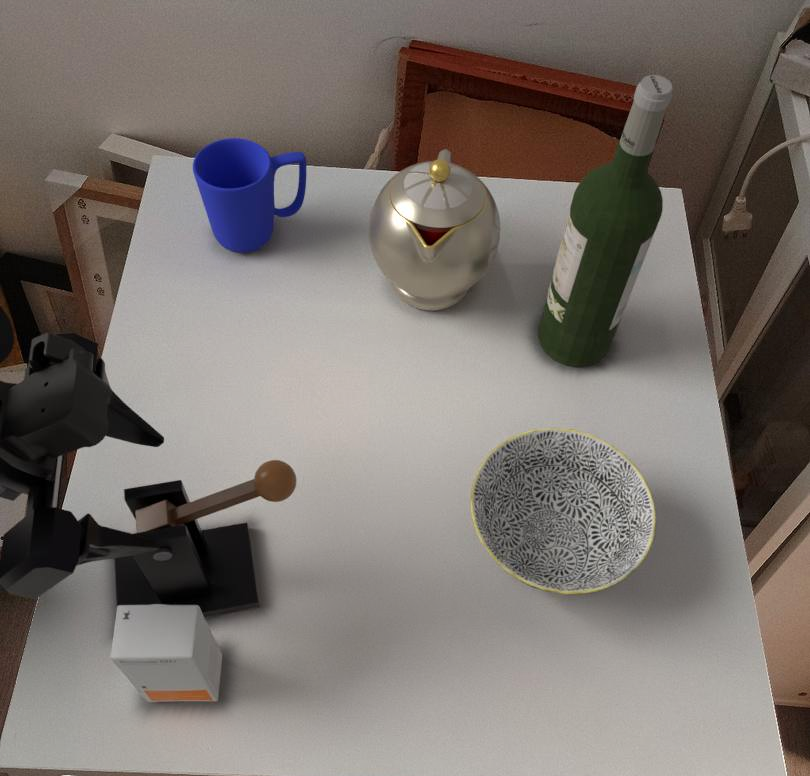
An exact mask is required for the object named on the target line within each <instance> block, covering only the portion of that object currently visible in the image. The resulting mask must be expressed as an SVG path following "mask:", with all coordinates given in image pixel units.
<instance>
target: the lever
mask: <svg viewBox="0 0 810 776" xmlns="http://www.w3.org/2000/svg"><path fill="white" fill-rule="evenodd" d="M296 487H297V476H296V472H295V470H294V469H293V467H291V465H290V464H289V463H287V462H285V461H283V460H279V459H270V460H267V461H265V462H264V463H262V464H261V465H260V466H259V467H258V468H257V469H256V470H255V473H254V477H253V479H250V480H247V481H244V482H241V483H239V484H236V485H234V486H231V487H228V488H225V489H223V490H219V491H217V492H214V493H211V494H209V495H206V496H204V497H200V498H198V499H195V500H192V501H190V502H189V503H187V504H184V505H181V506H179V507H176V506H175V505H173V504H172V503H171V502H169V501H168V500H163V501H160V502H158V503H155V504H152V505H150V506H147V507H144V508H141V509H139V510H136V511H135V515H136V520H135V531H136V533H139V532H145V531H151V530H157V529H163V528H169V527H174V526H180V525H184V523H187V522H190V521H193V520H195V519H197V520H199V519H201V518H204V517H206V516H209V515H212V514H215V513H217V512H220V511H222V510H226V509H229V508H232V507H234V506H237V505H240V504H242V503H245V502H249V501H251V500H254V499H256V498H259V497H261V498H262V499H264V500H265V501H267V502H271V503H279V502H284V501H285V500H287V499H288V498H290V497H291V496H292V495H293V494H294V491H295V490H296Z"/></svg>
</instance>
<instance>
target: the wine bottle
mask: <svg viewBox="0 0 810 776" xmlns="http://www.w3.org/2000/svg"><path fill="white" fill-rule="evenodd" d="M672 98H673V84H672V82H671V81H670V80H669V79H668V78H666V77H664V76H662V75H659V74H658V75H657V74H650V75H646V76H644V77H643V78H642V79H641V80H640V82H639V83H638V84H637V85H636V88H635V91H634V94H633V102H632V105H631V107H630V108H631V109H630V111H629V114H628V116H627V120H626V121H625V124H624V127H623V131H622V133H621V137H620V139H619V141H618V145H617V148H616V150H615V153H614V157H613V159H612V160H611V162H609V163H605V164H603V165H600V166H597V167H595V168H594V169H593V170H591V171H589V172H588V173H587V174H585V176H584V177H582V179H581V180H580V182H579V183H578V185H577V187H576V188H575V190H574V192H573V196H572V200H571V204H570V208H569V212H568V215H567V218H566V222H565V226H564V229H563V230H564V231H563V235H562V238H561V240H560V241H561V242H560V245H559V248H558V252H557V256H556V260H555V264H554V268H553V272H552V276H551V279H550V283H549V287H548V290H547V294H546V298H545V302H544V305H543V309H542V313H541V317H540V321H539V324H538V330H537V338H538V341H539V345H540V347H541V349H542V350H543V351H544V353H545V354H546V355H547V356H549V358H551V359H552V360H553V361H555V362H558V363H560V364H562V365H565V366H570V367H576V368H579V367H588V366H591V365H593V364H595V363H598V362H600V360H601V359H603V358H604V357H605V356H606V355H607V353H608V352H609V350H610V347H611V345H612V343H613V341H614V340H613V339H614V338H615V336H616V333H617V330H618V327H619V325H620V323H621V320H622V318H623V315H624V313H625V309H626V307H627V304H628V302H629V300H630V297H631V294H632V292H633V289H634V287H635V284H636V282H637V280H638V277H639V274H640V271H641V268H642V266H643V264H644V261H645V260H646V259H645V258H646V255H647V254H648V251H649V248H650V246H651V243H652V241H653V238H654V235H655V232H656V230H657V228H658V225H659V223H660V220H661V217H662V215H663V207H664V206H663V204H664V202H663V201H664V200H663V195H662V191H661V189H660V186H659V185H658V183H657V181H656V179H655V178H654V177H653V176H652V175H651V173H649V167H650V164H651V160H652V157H653V153H654V150H655V147H656V144H657V140H658V137H659V134H660V131H661V129H662V128H661V127H662V124H663V121H664V117H665V114H666V112H667V108H668V107H669V105H670V103H671V100H672Z"/></svg>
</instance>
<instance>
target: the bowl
mask: <svg viewBox="0 0 810 776" xmlns="http://www.w3.org/2000/svg"><path fill="white" fill-rule="evenodd" d="M655 507H656V506H655V501H654V498H653V495H652V492H651V489H650V487H649V485H648V483H647V481H646V479H645V478H644V476H643V475H642V473H641V472H640V470H639V469H638V468H637V466H636V465H635V464H634V463H633V462H632V461H631V459H630V458H629V457H628V456H627V455H625V454H624V453H623V452H622V451H620V450H619V449H618V448H616V447H615V446H614V445H612V444H610V443H609V442H607V441H606V440H603V439H601V438H600V437H597V436H595V435H593V434H590V433H587V432H583V431H579V430H575V429H571V428H561V427H546V428H537V429H532V430H528V431H524V432H521V433H519V434H517V435H514V436H512V437H510V438H508V439H506V440H505V441H503V442H502V443H500V444H499V445H498V446H496V447H495V448H494V449H493V450H491V452H490V453H489V454H488V455H487V456H486V458H485V459H484V460H483V462H482V463H481V464H480V467H479V468H478V470H477V472H476V474H475V477H474V480H473V483H472V485H471V492H470V510H471V511H470V512H471V518H472V523H473V525H474V529H475V531H476V535H477V537H478V538H479V541H480V542H481V544H482V546H483V547H484V549H485V550H486V551H487V553H488V554H489V555H490V557H491V558H492V560H494V561H495V562H496V563H497V564H498V565H499V566H500V567H501V568H502V569H503V570H504V571H506V572H507V573H508V574H510V575H511V576H512V577H513V578H515V579H516V580H518V581H520V582H521V583H523V584H525V585H527V586H530V587H531V588H534V589H536V590H537V589H538V590H541V591H544V592H549V593H554V594H555V593H556V594H561V595H563V594H564V595H583V594H590V593H596V592H600V591H602V590H605V589H608V588H610V587H612V586H615V585H616V584H619V583H620V582H622V581H624V580H625V579H627V578H628V577H629V576H631V574H633V573H634V572H635V571H636V570H637V569H638V568H639V567H640V565H641V564H643V562H644V560H645V558H646V557H647V556H648V553H649V552H650V549H651V547H652V544H653V542H654V538H655V534H656V527H657V526H656V525H657V517H656V516H657V515H656V508H655Z"/></svg>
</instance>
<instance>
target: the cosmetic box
mask: <svg viewBox="0 0 810 776" xmlns="http://www.w3.org/2000/svg"><path fill="white" fill-rule="evenodd" d="M115 613H116V614H115V620H114V629H113V635H112V642H111V650H110V656H109V657H110V660H111V661H112V663H114V664H115V666H116V667H117V668H118V669H119V670H120V672H122V674H123V675H124V676H125V677H126V678H127V680H128V681H129V682H130V683H131V685H132V686H133V687H134V688H135V689H136V690H137V691H138V692H139V694H141V696H142V697H143V698H144V699H145V701H146V702H148V703H157V702H158V703H159V702H160V703H163V702H164V703H166V702H218V701H219V695H220V685H221V684H220V683H221V673H222V665H223V664H222V662H223V653H222V650H221V649H220V647H219V645H218V642H217V641H216V639H215V637H214V634H213V633H212V630H211V628H210V627H209V624H208V622H207V620H206V617H204V616H203V614H202V611H201V609H200V607H199V606H198V605H165V604H152V605H118V606H117V605H116V612H115Z"/></svg>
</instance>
